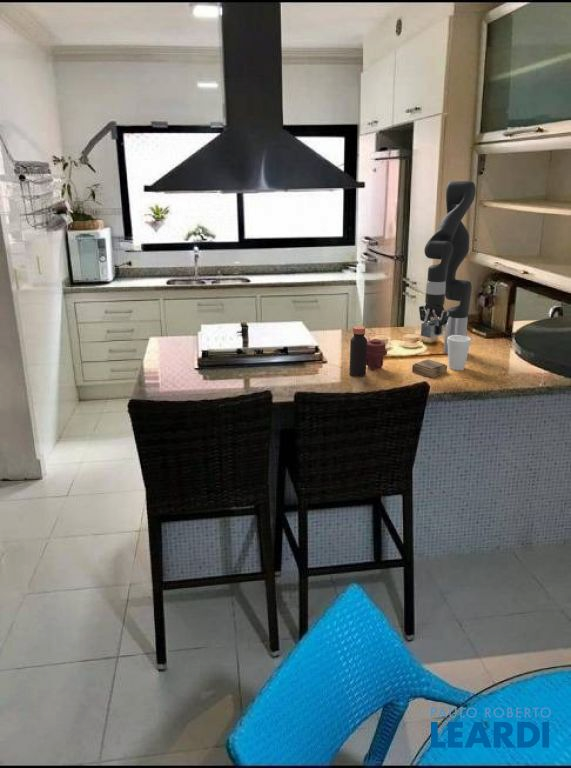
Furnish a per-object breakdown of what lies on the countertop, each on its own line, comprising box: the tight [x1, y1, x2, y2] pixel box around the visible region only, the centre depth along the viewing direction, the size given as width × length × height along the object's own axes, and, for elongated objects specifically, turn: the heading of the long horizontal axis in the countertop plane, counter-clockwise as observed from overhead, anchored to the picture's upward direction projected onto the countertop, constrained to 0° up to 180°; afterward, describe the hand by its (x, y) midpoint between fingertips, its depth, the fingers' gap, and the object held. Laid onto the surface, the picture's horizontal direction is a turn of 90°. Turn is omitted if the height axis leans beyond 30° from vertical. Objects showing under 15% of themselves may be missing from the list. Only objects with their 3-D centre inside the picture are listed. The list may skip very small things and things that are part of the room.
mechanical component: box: [366, 338, 388, 372], centre depth 253 cm, size 12×10×10 cm
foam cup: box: [447, 335, 472, 371], centre depth 252 cm, size 10×9×13 cm
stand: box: [412, 359, 448, 378], centre depth 249 cm, size 10×10×4 cm
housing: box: [420, 318, 445, 339], centre depth 243 cm, size 8×5×6 cm, turn 129°
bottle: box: [349, 325, 368, 378], centre depth 244 cm, size 7×7×20 cm
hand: (432, 333), depth 244 cm, fingers closed on housing, 5 cm apart
